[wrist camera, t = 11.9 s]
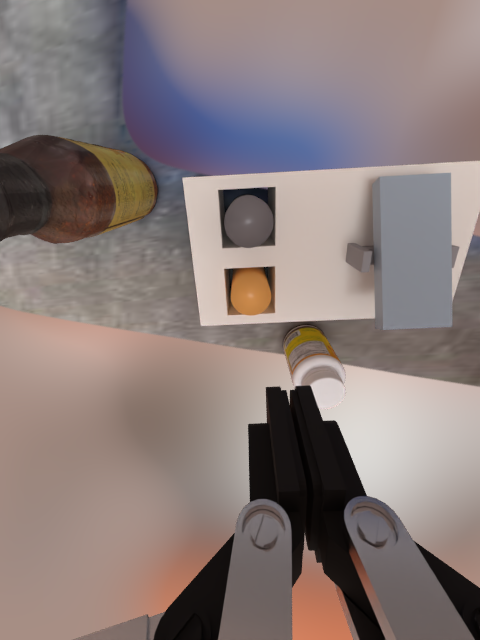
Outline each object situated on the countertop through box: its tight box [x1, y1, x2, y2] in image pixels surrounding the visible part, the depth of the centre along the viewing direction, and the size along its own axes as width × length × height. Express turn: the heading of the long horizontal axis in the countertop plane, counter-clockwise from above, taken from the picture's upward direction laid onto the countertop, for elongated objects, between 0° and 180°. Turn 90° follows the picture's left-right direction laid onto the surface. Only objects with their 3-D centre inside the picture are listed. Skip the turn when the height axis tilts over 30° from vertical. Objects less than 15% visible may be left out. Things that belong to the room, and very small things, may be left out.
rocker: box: [370, 173, 452, 330], centre depth 21 cm, size 6×11×2 cm, turn 3°
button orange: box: [231, 267, 271, 316], centre depth 28 cm, size 4×4×8 cm
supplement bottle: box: [283, 325, 346, 409], centre depth 31 cm, size 6×6×10 cm
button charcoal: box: [224, 194, 273, 248], centre depth 24 cm, size 4×4×8 cm
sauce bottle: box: [0, 135, 158, 244], centre depth 19 cm, size 7×6×20 cm
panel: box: [183, 161, 480, 326], centre depth 26 cm, size 24×13×10 cm, turn 93°
